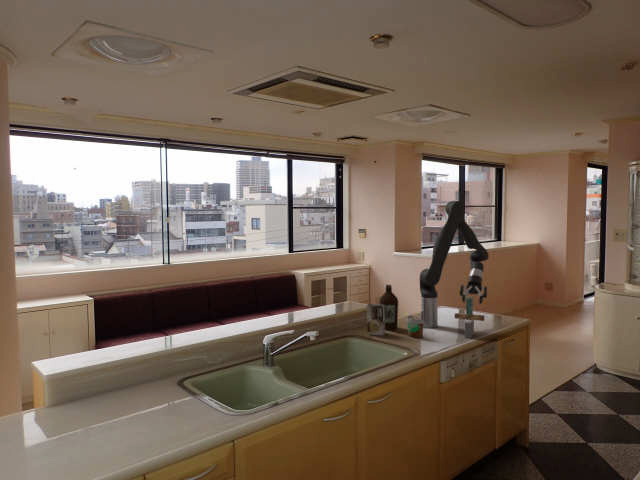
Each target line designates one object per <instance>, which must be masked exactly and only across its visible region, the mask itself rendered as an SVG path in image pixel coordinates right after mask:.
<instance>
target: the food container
mask: <svg viewBox="0 0 640 480" xmlns="http://www.w3.org/2000/svg"><path fill="white" fill-rule="evenodd" d="M405 322H406V323H407V331H408V332H407V334H408V335H407V336H408V337H409V338H412V339H423V336H424V335H423V334H424V327H423V324H424V321H423V320H421V319H420V318H417V317H413V315H408V316H406V320H405Z"/></svg>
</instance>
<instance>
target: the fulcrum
mask: <svg viewBox="0 0 640 480" xmlns="http://www.w3.org/2000/svg"><path fill="white" fill-rule="evenodd" d="M474 334H475V320H468V319H464V338H465V339H472V338H473V336H474Z"/></svg>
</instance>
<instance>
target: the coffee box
mask: <svg viewBox="0 0 640 480" xmlns="http://www.w3.org/2000/svg"><path fill="white" fill-rule="evenodd" d="M366 318H367V319H366V322H367V323H366V325H367V326H366V327H367V329H366V331H367V335H368V336H384V335H385V334H386V330H385V310H384V304H380V303H368V304H367V305H366Z"/></svg>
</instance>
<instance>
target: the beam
mask: <svg viewBox="0 0 640 480" xmlns="http://www.w3.org/2000/svg"><path fill="white" fill-rule="evenodd" d="M473 310H474V298H473V297H469V296H466V299H465V313H462V312H461V313H458V312H457V313H456V312H455V313H454V319H457V320H459V319H460V320H466V319H468V320H474V321H482V322H484V321H485V315H482V314H474V312H473Z"/></svg>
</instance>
